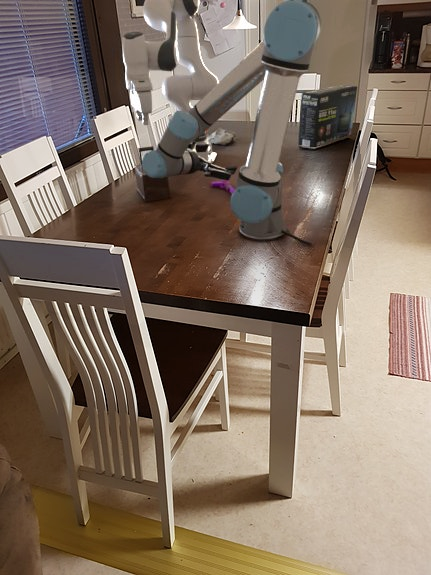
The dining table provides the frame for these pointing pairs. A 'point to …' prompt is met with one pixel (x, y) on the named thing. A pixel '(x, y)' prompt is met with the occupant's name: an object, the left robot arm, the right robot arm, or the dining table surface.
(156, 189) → the chest
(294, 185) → the dining table surface
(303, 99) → the router box
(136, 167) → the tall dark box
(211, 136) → the fossil
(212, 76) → the left robot arm
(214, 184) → the handgun
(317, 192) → the dining table surface
